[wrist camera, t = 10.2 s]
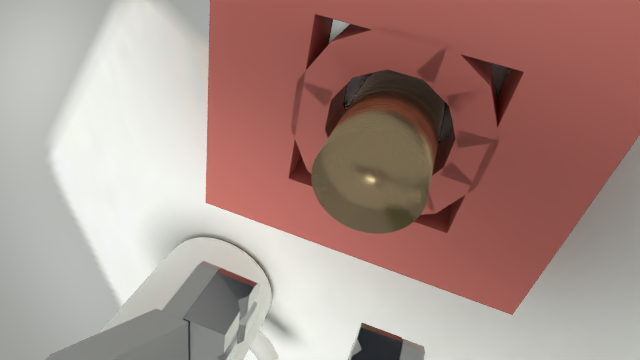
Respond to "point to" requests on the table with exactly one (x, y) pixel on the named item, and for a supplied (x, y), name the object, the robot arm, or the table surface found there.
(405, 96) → the tan cylinder plug
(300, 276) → the table surface
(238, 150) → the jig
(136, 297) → the mug
